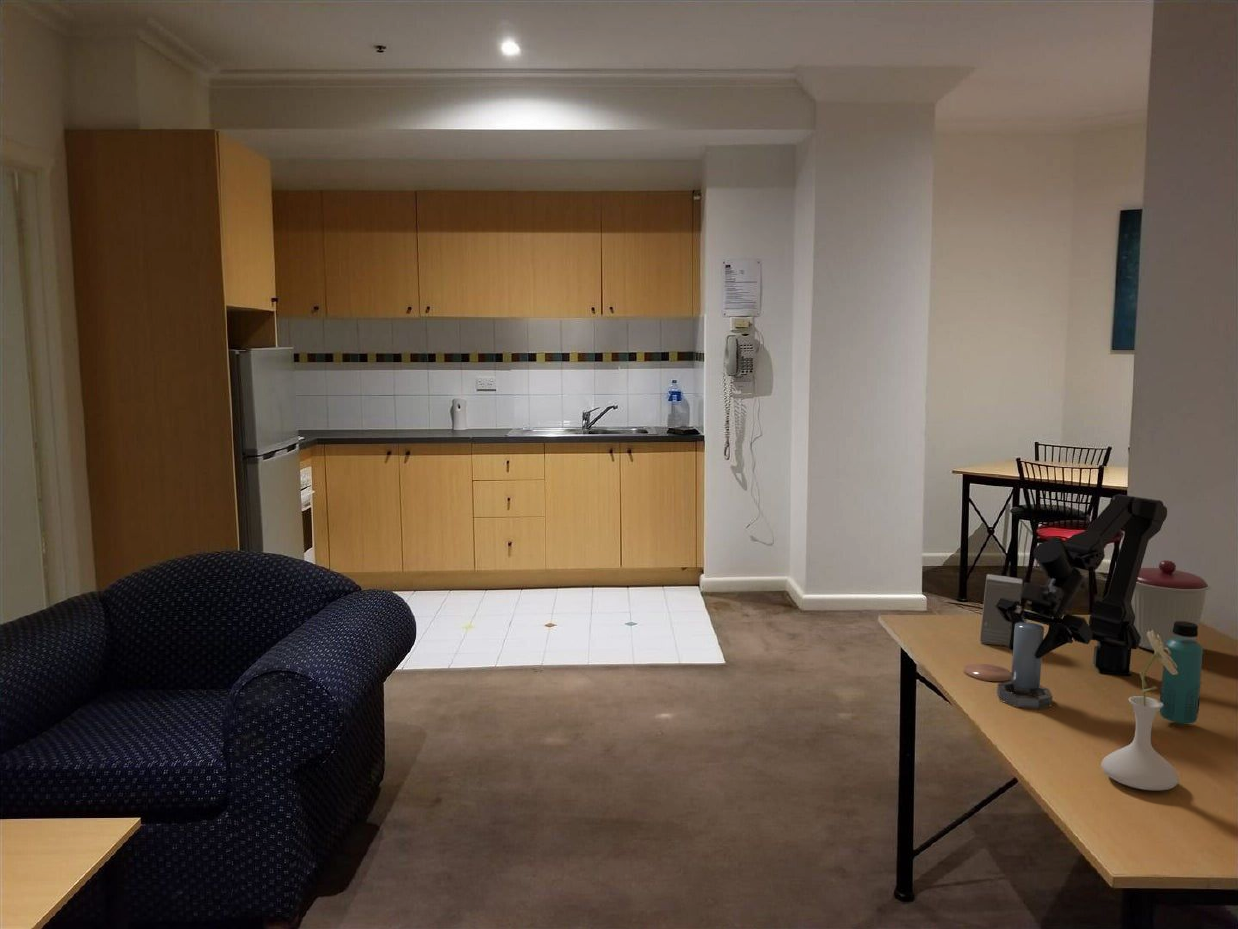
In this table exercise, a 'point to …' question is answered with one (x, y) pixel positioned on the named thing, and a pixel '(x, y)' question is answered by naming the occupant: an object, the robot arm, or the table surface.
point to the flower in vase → (1144, 738)
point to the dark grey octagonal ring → (1023, 701)
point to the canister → (1166, 601)
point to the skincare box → (992, 621)
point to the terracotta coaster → (987, 672)
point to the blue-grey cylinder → (1026, 655)
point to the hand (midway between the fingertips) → (1023, 653)
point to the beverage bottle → (1182, 676)
